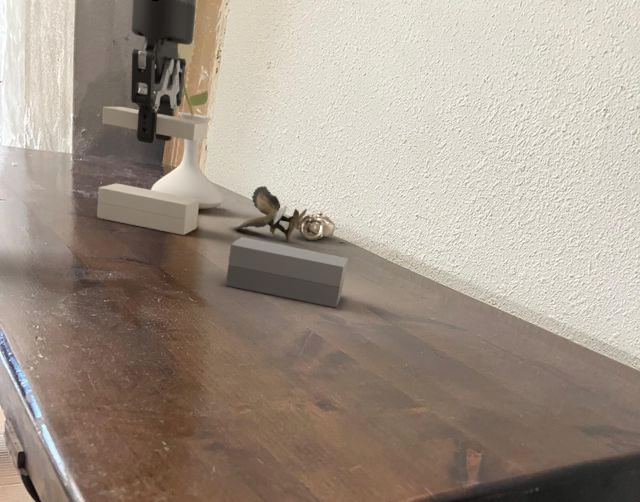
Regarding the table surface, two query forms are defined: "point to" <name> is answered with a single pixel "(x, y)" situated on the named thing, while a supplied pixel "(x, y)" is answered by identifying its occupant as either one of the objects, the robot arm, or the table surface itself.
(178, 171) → the flower in vase
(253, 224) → the eagle figurine
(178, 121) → the white book
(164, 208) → the white books
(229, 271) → the grey books
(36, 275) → the table surface
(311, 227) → the ornament
